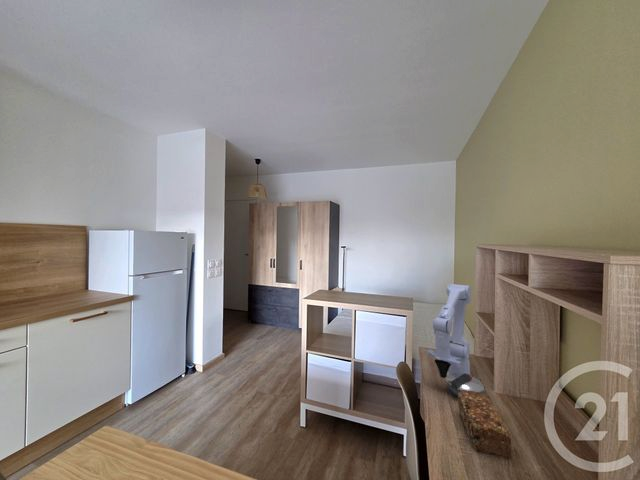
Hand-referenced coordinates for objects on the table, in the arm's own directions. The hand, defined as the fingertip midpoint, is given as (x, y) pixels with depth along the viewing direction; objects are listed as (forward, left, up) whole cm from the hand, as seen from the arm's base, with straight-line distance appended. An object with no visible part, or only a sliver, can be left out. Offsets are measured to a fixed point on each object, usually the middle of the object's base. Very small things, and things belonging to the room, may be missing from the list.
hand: (443, 376), depth 107 cm
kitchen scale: (-4, +7, -6) cm, 10 cm away
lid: (-5, +6, -2) cm, 8 cm away
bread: (+11, +22, -6) cm, 25 cm away
